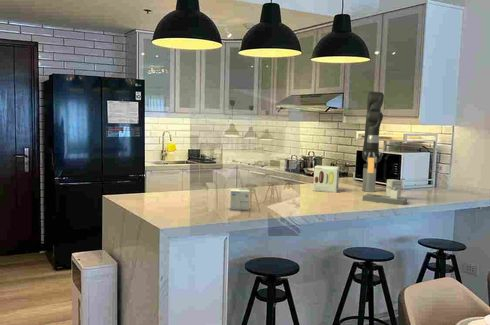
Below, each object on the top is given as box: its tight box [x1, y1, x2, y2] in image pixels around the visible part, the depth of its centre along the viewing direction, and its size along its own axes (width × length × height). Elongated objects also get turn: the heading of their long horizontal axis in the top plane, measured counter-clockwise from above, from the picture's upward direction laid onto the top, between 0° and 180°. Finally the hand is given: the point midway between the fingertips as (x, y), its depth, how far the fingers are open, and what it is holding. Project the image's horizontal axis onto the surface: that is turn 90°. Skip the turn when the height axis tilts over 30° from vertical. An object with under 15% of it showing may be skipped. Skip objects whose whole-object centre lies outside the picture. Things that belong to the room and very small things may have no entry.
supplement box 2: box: [385, 178, 402, 197], centre depth 332 cm, size 7×7×13 cm
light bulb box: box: [229, 188, 250, 211], centre depth 274 cm, size 11×7×11 cm, turn 92°
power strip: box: [362, 187, 408, 206], centre depth 316 cm, size 12×26×10 cm, turn 60°
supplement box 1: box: [312, 164, 340, 194], centre depth 356 cm, size 17×13×18 cm
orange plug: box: [367, 157, 375, 173], centre depth 319 cm, size 4×4×12 cm
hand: (371, 167), depth 319 cm, fingers closed on orange plug, 4 cm apart
